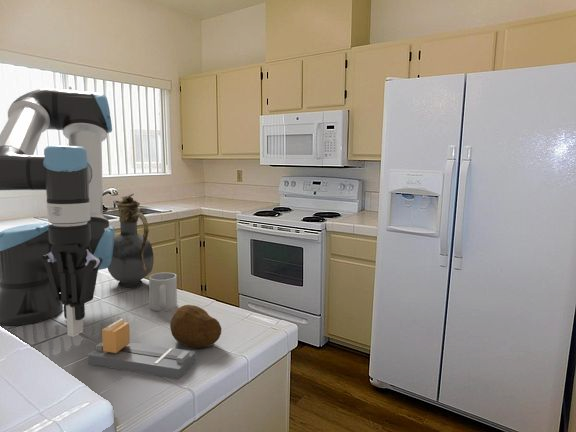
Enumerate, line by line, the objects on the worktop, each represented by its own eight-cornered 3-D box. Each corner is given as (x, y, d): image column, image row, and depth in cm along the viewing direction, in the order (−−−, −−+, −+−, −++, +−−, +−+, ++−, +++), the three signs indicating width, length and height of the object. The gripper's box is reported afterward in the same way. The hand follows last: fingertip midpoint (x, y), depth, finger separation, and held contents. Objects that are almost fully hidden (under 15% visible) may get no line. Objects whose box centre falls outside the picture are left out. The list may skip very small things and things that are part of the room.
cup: (177, 301, 112) (176, 271, 111) (176, 314, 103) (176, 282, 101) (150, 303, 110) (150, 273, 109) (148, 317, 101) (147, 284, 99)
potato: (192, 360, 80) (191, 320, 78) (161, 341, 87) (160, 305, 86) (224, 346, 86) (224, 309, 85) (192, 330, 94) (192, 295, 92)
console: (88, 364, 77) (87, 350, 77) (111, 347, 84) (110, 334, 83) (179, 378, 73) (179, 364, 72) (195, 360, 80) (195, 347, 79)
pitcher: (134, 276, 134) (132, 190, 130) (164, 289, 122) (162, 195, 117) (103, 283, 126) (99, 192, 122) (131, 297, 114) (128, 197, 109)
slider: (103, 351, 78) (101, 326, 77) (117, 341, 82) (116, 317, 81) (116, 353, 77) (115, 327, 76) (129, 343, 81) (128, 319, 80)
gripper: (26, 223, 75) (34, 337, 79) (83, 228, 73) (89, 345, 76) (57, 218, 83) (63, 322, 86) (110, 222, 80) (114, 329, 83)
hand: (75, 333), depth 81 cm, fingers closed
